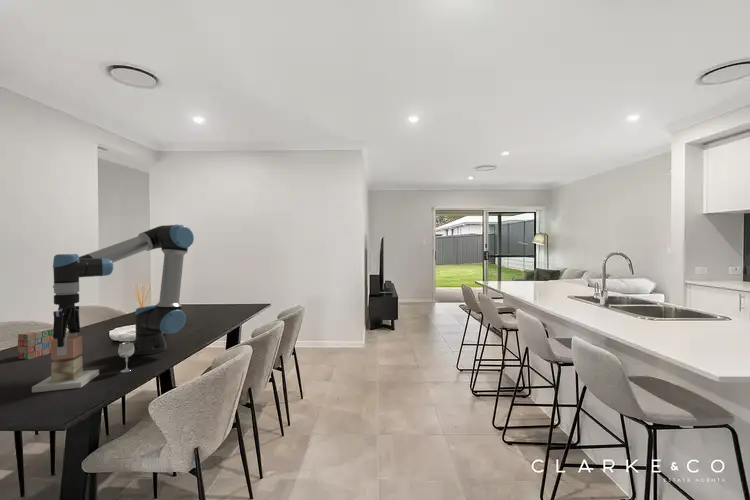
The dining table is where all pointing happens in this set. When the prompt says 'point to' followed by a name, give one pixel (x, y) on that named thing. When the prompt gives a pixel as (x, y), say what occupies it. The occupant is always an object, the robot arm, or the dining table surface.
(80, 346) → the terracotta block
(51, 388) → the base plate
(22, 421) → the dining table surface
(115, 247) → the robot arm
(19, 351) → the stack of blocks
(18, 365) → the dining table surface
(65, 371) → the maple block
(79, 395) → the dining table surface
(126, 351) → the wineglass
